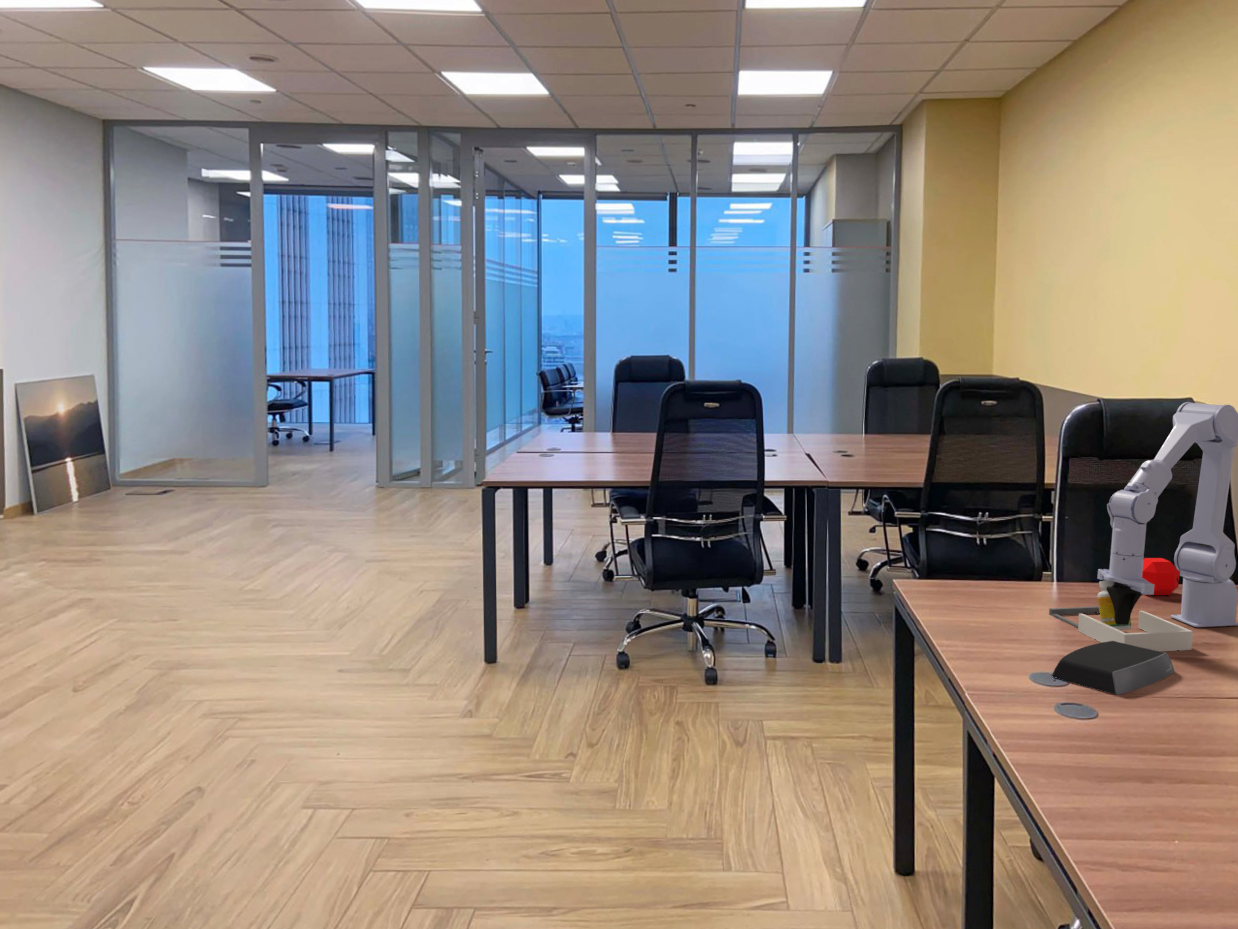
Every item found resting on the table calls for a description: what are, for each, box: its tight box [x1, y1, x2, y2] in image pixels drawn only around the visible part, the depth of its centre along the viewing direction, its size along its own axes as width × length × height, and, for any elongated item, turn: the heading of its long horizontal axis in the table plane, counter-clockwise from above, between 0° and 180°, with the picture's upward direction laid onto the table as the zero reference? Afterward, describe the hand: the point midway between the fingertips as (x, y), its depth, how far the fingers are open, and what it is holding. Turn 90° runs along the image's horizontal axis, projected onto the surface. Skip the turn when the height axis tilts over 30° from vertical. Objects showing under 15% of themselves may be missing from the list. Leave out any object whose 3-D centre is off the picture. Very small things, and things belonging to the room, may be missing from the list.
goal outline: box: [1048, 605, 1100, 629], centre depth 222 cm, size 11×10×1 cm
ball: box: [1142, 557, 1180, 596], centre depth 243 cm, size 8×8×8 cm
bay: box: [1077, 610, 1194, 652], centre depth 207 cm, size 14×15×4 cm
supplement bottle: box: [1097, 580, 1132, 631], centre depth 212 cm, size 5×5×10 cm
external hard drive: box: [1051, 641, 1175, 696], centre depth 187 cm, size 13×19×4 cm
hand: (1121, 623), depth 209 cm, fingers closed, pressing on supplement bottle
